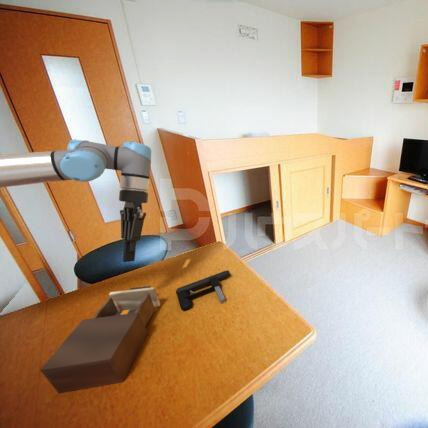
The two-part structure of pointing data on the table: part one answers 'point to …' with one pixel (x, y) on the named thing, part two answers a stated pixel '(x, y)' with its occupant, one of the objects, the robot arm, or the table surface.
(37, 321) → the table surface
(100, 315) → the drawer
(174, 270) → the table surface
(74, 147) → the robot arm
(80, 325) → the cabinet
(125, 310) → the box cutter
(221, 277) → the black clamp
